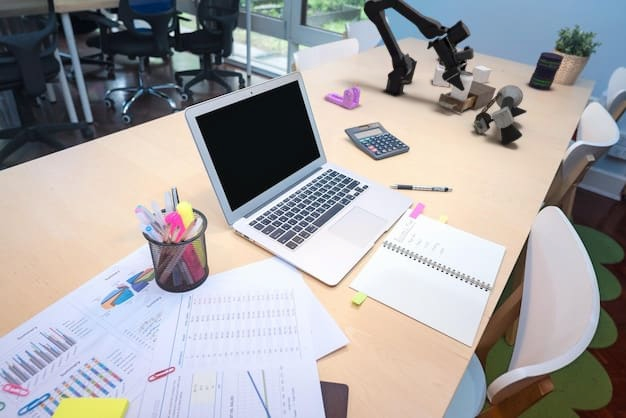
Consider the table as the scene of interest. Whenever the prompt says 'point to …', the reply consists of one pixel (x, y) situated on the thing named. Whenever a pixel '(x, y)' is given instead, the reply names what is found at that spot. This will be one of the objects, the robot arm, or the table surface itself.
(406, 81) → the pen holder
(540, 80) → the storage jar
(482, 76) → the white cube
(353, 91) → the bracket
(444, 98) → the drawer
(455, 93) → the can
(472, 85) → the organizer
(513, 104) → the abstract shape sculpture
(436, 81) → the medicine bottle
